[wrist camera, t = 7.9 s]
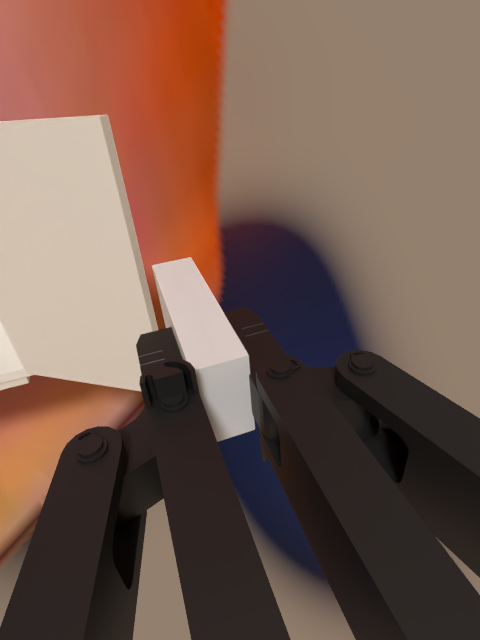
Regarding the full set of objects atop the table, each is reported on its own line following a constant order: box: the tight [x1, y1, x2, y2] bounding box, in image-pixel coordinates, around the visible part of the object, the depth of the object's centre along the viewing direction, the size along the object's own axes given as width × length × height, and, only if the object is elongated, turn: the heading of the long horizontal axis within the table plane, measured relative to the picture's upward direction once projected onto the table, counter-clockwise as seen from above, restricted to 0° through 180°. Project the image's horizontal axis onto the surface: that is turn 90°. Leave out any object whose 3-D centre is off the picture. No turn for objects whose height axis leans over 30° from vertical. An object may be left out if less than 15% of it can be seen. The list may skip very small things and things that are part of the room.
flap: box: [0, 115, 158, 391], centre depth 18 cm, size 9×13×1 cm
